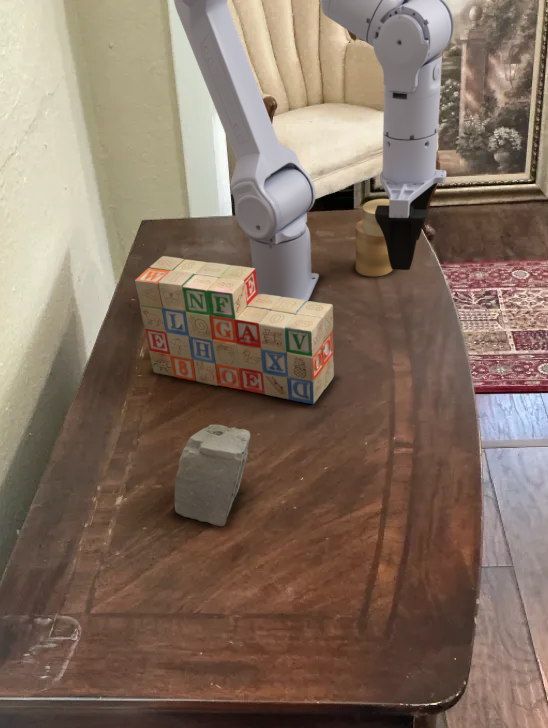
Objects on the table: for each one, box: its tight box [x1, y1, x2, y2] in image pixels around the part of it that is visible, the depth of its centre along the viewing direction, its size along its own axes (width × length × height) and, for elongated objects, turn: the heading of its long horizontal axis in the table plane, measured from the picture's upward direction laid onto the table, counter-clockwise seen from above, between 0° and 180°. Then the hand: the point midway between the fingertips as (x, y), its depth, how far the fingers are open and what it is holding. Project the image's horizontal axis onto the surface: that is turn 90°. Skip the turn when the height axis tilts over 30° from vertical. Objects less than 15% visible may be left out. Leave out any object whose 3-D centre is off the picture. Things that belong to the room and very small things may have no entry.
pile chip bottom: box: [355, 249, 394, 277], centre depth 118 cm, size 5×5×3 cm
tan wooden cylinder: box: [362, 198, 390, 236], centre depth 113 cm, size 5×5×3 cm
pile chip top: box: [355, 219, 388, 255], centre depth 116 cm, size 5×5×3 cm
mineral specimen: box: [173, 424, 251, 527], centre depth 83 cm, size 7×9×8 cm
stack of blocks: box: [134, 255, 335, 405], centre depth 98 cm, size 21×6×12 cm, turn 63°
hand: (405, 253), depth 101 cm, fingers open, 7 cm apart
